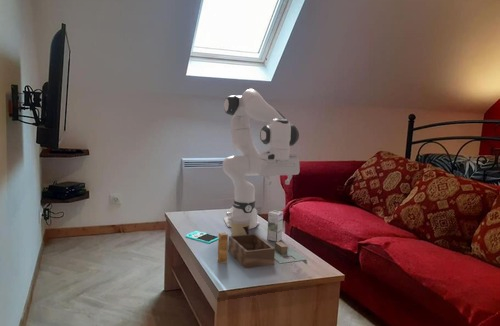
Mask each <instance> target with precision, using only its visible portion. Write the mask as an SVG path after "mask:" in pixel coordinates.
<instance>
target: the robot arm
mask: <svg viewBox="0 0 500 326" xmlns="http://www.w3.org/2000/svg"><path fill="white" fill-rule="evenodd" d="M241 94H242V95H234V94H233V95H229V96H227V97H226V98H225V100H224V103H223V108H224V109H223V110H224V112H225V114H226V115H230V116H232V117H231V120H230V133H231V134H230V135H231V139H232V140H231V141H232V147H233V148H234V149H235V150H236V151H238V152H240V153H241V154H242V155H230V156H227V157H225V158H224V160H223V162H222V170H223V172H224V174H225V175H227V176H228V177H229V179H231V181H232V183H233V187H234V188H233V189H234V199H233V201H232V207H230V208H229V209H228V211H227V212H226V216H225V217H223V222H224V223H225V224H226V226H227V228H231V219H232V217H234V216H246V217H249V218H250V225H249V230H251V229H254V228H256V227H257V226H258V225H260V221H258V209H256V200H255V199H256V198H255V197H256V196H255V195H256V188H255V185H254V184H253V183H252V182H250V181H248V180H247V179H246V176H249V177H250V176H261V177H264V179H265V181H266V185H267V186H272V181H271V180H270V176H271V177H272V176H287V179H285V180H284V184H285V185H287V186H288V185H290V182H291V180H292V178H293V176H294V175H295V176H296V175H299V173H300V171H301V170H300V167H301V166H300V161H301V160H300V156H299V155H298V154H291V151H290V150H291V147H293V146H294V145H295V144H296V143H297V142H298V140H300V139H299V138H300V133H299V130H298V128H297V127H296V126H295V125H294V124H292V123H291V122H290V120H288V119H287V118H286V117H285V116H284V115H283V114H282V113H281V111H279V110H278V109H276V108H275V107H274V106H272V105H270V104H269V103H268V102H266V101H265V99H264V97H262V95H261V94H260V93H259V92H258V91H257V90H256V89H253V88H249V89H246V90H245V91H244V92H243V93H241ZM251 119H252V120H253V121H257V122H264V123H265V122H266V123H268V124H267V125H266V124H265V125H263V127H262V128H261V130H260V135H259V136H260V137H259V139H260V141H261V143H262V144H264V145H267V146H270V147H269V148H270V149H269V150H266V151H263V152H261V153H260V152H259V150H258V149H257V147H256V146H255V143H254V140H253V135H252V130H251V124H250V120H251Z"/></svg>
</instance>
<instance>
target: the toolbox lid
mask: <svg viewBox="0 0 500 326" xmlns="http://www.w3.org/2000/svg"><path fill="white" fill-rule="evenodd" d="M271 246H272V247H273V248H275V256H274V261H276V262H277V263H278V264H280V265H281V264H288V263H295V262H303V263H307V260H308V259H307V258H305V257H304V256H303V255H301V254H300V253H298V252H297V251H296V250H294V249H293V248H291V247H290V246H288V245H287V244H286V243H284V242H282V241H278V242H274V244H273V245H271ZM286 257H292V258H293V259H286Z"/></svg>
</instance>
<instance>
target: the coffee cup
mask: <svg viewBox="0 0 500 326" xmlns="http://www.w3.org/2000/svg"><path fill="white" fill-rule="evenodd" d="M249 225H250V218H249V217H246V216H234V217H232V219H231V227H230V228H231V229H230V230H231V231H230V232H231V236H236V235H246V234H250V233H249V232H250V229H249Z"/></svg>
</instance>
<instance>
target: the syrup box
mask: <svg viewBox="0 0 500 326" xmlns="http://www.w3.org/2000/svg"><path fill="white" fill-rule="evenodd" d="M267 216H268V217H267V234H266V235H267V236H266V239H267V241H270V242H274V243H275V242H281V240H282V239H283V226H284V225H283V224H284V223H283V222H284V211H280V210H274V209H273V210H269V211H268V214H267Z"/></svg>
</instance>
